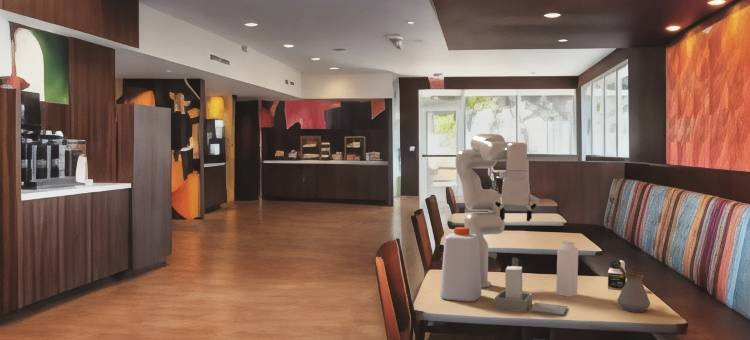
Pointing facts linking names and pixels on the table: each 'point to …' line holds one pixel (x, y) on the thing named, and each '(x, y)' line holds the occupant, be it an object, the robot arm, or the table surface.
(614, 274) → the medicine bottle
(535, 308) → the pad
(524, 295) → the bin
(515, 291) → the skincare box
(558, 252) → the milk
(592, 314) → the table surface
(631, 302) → the coffee pot
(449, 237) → the plastic bottle
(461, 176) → the robot arm
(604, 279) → the table surface
